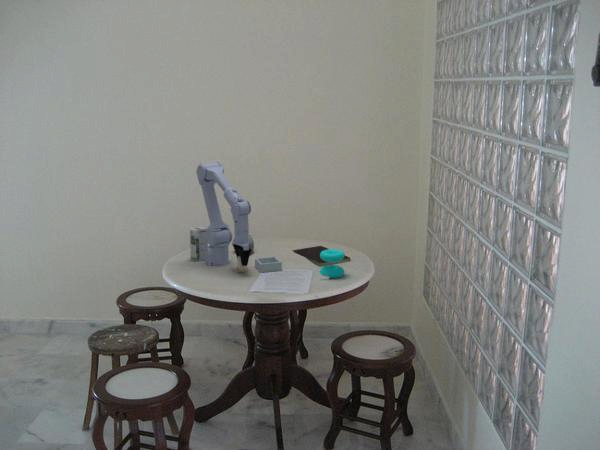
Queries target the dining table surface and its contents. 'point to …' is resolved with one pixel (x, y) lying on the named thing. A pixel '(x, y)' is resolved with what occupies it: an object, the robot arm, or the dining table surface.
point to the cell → (240, 267)
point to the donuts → (332, 256)
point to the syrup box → (198, 243)
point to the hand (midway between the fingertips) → (242, 262)
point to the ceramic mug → (250, 243)
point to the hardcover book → (317, 255)
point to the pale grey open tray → (268, 264)
